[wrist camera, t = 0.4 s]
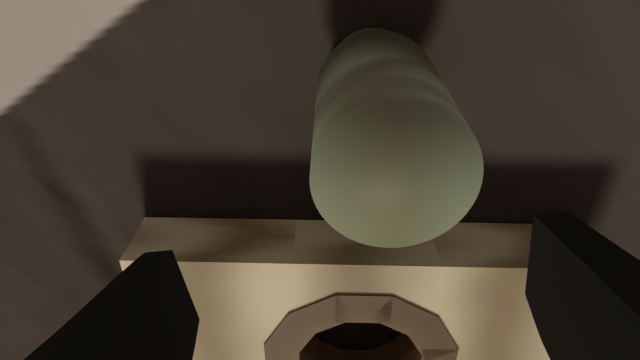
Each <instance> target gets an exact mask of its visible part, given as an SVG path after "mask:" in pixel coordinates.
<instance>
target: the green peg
mask: <svg viewBox="0 0 640 360" xmlns="http://www.w3.org/2000/svg"><path fill="white" fill-rule="evenodd" d="M483 173H484V166H483V157H482V152H481V149H480V146H479V144H478V142H477V140H476V138H475V136H474V134H473V133H472V131H471V129H470V127H469V126H468V124H467V122H466V121H465V119H464V117H463V116H462V114H461V112H460V110H459V109H458V107H457V105H456V104H455V102H454V100H453V98H452V97H451V95H450V93H449V92H448V90H447V88H446V87H445V85H444V83H443V81H442V80H441V78H440V76H439V75H438V73H437V71H436V69H435V68H434V66H433V64H432V63H431V61H430V59H429V57H428V56H427V54H426V53H425V52H424V50H423V49H422V48H421V47H420V46H419V45H418V44H417V43H416V42H415V41H413V40H412V39H411V38H409V37H407V36H405V35H403V34H400V33H397V32H394V31H390V30H387V29H383V28H375V27H373V28H365V29H361V30H358V31H356V32H354V33H352V34H350V35H349V36H347V37H346V38H345V39H344V40H342V42H341V43H340V44H339V45H338V46H336V47H335V48H334V49H333V51H332V52H331V53H330V54H329V55H328V57H327V58H326V60H325V62H324V64H323V66H322V68H321V71H320V74H319V78H318V85H317V96H316V107H315V119H314V130H313V141H312V152H311V164H310V177H309V181H310V190H311V194H312V198H313V201H314V203H315V206H316V208H317V209H318V211H319V213H320V214H321V216H322V217H323V218H324V219H325V221H326V222H327V223H328V224H329V225H330V226H331V227H332V228H333V229H335V230H336V231H338V232H339V233H340V234H342V235H344V236H345V237H347V238H349V239H351V240H354V241H356V242H358V243H362V244H365V245H369V246H375V247H383V248H400V247H407V246H412V245H416V244H420V243H423V242H426V241H429V240H431V239H433V238H436V237H438V236H440V235H441V234H443V233H445V232H446V231H448V230H449V229H451V228H452V227H453V226H454V225H456V224H457V223H458V222H459V221H460V220H461V219H462V218H463V217H464V216H465V215H466V214H467V212H468V211H469V210H470V208H471V207H472V205H473V204H474V202H475V200H476V198H477V196H478V194H479V192H480V188H481V185H482V180H483Z"/></svg>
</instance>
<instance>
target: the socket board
mask: <svg viewBox="0 0 640 360" xmlns="http://www.w3.org/2000/svg"><path fill="white" fill-rule="evenodd" d="M531 233H532V224H514V223H457V224H456V225H454V226H453V227H452V228H451V229H449V230H448V231H446V232H445V233H443V234H441V235H440V236H438V237H436V238H433V239H431V240H429V241H426V242H423V243H420V244H416V245H412V246H407V247H400V248H383V247H375V246H369V245H365V244H362V243H358V242H356V241H354V240H351V239H349V238H347V237H345V236H344V235H342V234H340V233H339V232H338V231H336V230H335V229H333V228H332V227H331V226H330V225H329V224H328V223H327V222H326V221H325V220H284V219H226V218H169V217H145V218H144V220H143V221H142V223H141V225H140V226H139V228H138V230H137V231H136V233H135V235H134V236H133V238H132V240H131V242H130V243H129V245H128V247H127V248H126V250H125V252H124V253H123V255H122V257H121V258H120V260H119V261H120V265H121V268H122V271H123V270H125V269H126V268H127V267H128V266H129V265H130V264H131V263H132V262H134V261H135V260H136V259H137V258H138V257H140V256H141V255H142V254H143V253H145V252H155V251H166V250H173V253H174V255H175V258H176V260H177V263H178V265H179V268H180V271H181V273H182V276H183V278H184V281H185V283H186V286H187V288H188V291H189V293H190V296H191V298H192V301H193V304H194V306H195V309H196V311H197V314H198V316H199V319H200V321H199V327H198V332H197V338H196V344H195V349H194V354H193V359H192V360H550V358H549V356H548V354H547V352H546V350H545V347H544V345H543V343H542V341H541V338H540V336H539V333H538V330H537V327H536V325H535V322H534V319H533V316H532V313H531V310H530V307H529V304H528V301H527V298H526V295H525V288H526V279H527V270H528V261H529V251H530V242H531ZM345 322H348V323H381V324H383V325H385V326H387V327H390V328H392V329H394V330H397V331H399V332H401V334H400V335H399V336H398V337H397V338H396V339H395V340H394V341H392V342H390V343H387V344H384V345H381V346H378V347H375V348H372V349H369V350H350V349H339V348H337V347H334V346H332V345H330V344H327V343H325V342H322V341H320V340H318V339H317V338H316V337H315V336H314V335H315V334H316V333H318V332H321V331H324V330H326V329H329V328H332V327H334V326H337V325H340V324H342V323H345Z"/></svg>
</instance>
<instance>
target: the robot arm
mask: <svg viewBox="0 0 640 360" xmlns="http://www.w3.org/2000/svg"><path fill="white" fill-rule="evenodd" d="M525 295H526V298H527V301H528V304H529V307H530V310H531V313H532V316H533V319H534V322H535V325H536V327H537V330H538V333H539V336H540V338H541V341H542V343H543V345H544V347H545V350H546V352H547V354H548V356H549V358H550V360H640V260H638V259H637V258H635V257H634V256H632V255H631V254H629V253H628V252H626V251H625V250H623V249H622V248H620V247H619V246H617V245H616V244H614V243H613V242H611V241H610V240H608V239H607V238H606V237H604V236H603V235H601V234H600V233H598V232H597V231H595V230H594V229H592V228H591V227H589V226H588V225H586V224H585V223H583V222H582V221H580V220H579V219H577V218H576V217H574V216H572V215H571V214H569V213H567V212H563V213H552V214H542V215H533V224H532V233H531V242H530V251H529V261H528V270H527V279H526V288H525ZM199 321H200V319H199V316H198V314H197V311H196V309H195V306H194V304H193V301H192V298H191V296H190V293H189V291H188V288H187V286H186V283H185V281H184V278H183V276H182V273H181V271H180V268H179V265H178V263H177V260H176V258H175V255H174V253H173V250H166V251H155V252H145V253H143V254H142V255H141V256H140V257H138V258H137V259H136V260H135V261H134V262H132V263H131V264H130V265H129V266H128V267H127V268H126V269H125V270H123V271H122V272H121V273H120V274H119V275H118V276H117V277H116V278H115V279H114V280H113V281H111V282H110V283H109V284H108V285H107V286H106V287H105V288H104V289H103V290H102V291H101V292H100V293H99V294H97V295H96V296H95V297H94V298H93V299H92V300H91V301H90V302H89V303H88V304H87V305H85V306H84V307H83V308H82V309H81V310H80V311H79V312H78V313H77V314H76V315H74V316H73V317H72V318H71V319H70V320H69V321H68V322H67V323H66V324H65V325H64V326H62V327H61V328H60V329H59V330H58V331H57V332H56V333H54V334H53V335H52V336H51V337H50V338H49V339H47V340H46V341H45V342H44V343H43V344H42V345H40V346H39V347H38V348H37V349H36V350H35V351H33V352H32V353H31V354H30V355H29V356H28V357H26V358H25V359H24V360H192V359H193V354H194V349H195V344H196V338H197V332H198V327H199Z"/></svg>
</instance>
